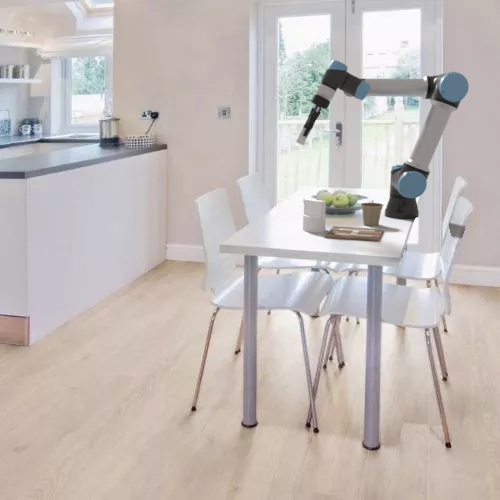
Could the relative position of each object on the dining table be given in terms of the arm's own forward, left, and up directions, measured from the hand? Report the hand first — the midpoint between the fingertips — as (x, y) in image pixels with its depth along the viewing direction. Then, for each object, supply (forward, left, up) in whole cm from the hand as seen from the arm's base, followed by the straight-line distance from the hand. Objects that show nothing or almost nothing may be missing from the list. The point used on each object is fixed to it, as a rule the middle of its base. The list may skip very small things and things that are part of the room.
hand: (299, 143), depth 266 cm
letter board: (-5, +36, -33) cm, 49 cm away
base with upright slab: (+5, +22, -33) cm, 40 cm away
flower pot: (-23, +22, -33) cm, 46 cm away
